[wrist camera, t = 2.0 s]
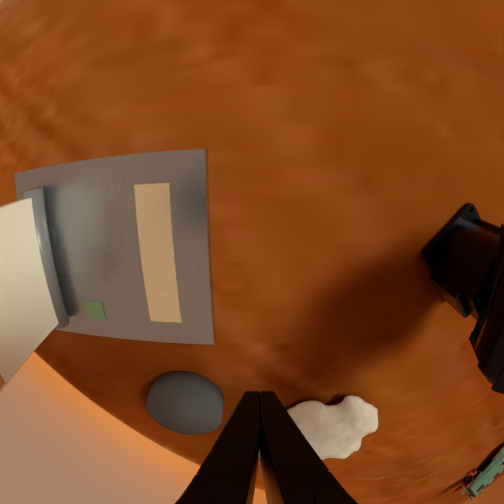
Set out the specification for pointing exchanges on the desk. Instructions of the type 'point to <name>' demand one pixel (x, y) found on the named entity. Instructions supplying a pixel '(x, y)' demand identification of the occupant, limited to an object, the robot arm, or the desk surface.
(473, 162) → the desk surface
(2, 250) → the bowl
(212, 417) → the grey river pebble
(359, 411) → the decorative stone
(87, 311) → the grey flat slab
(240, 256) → the desk surface
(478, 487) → the toy airplane
